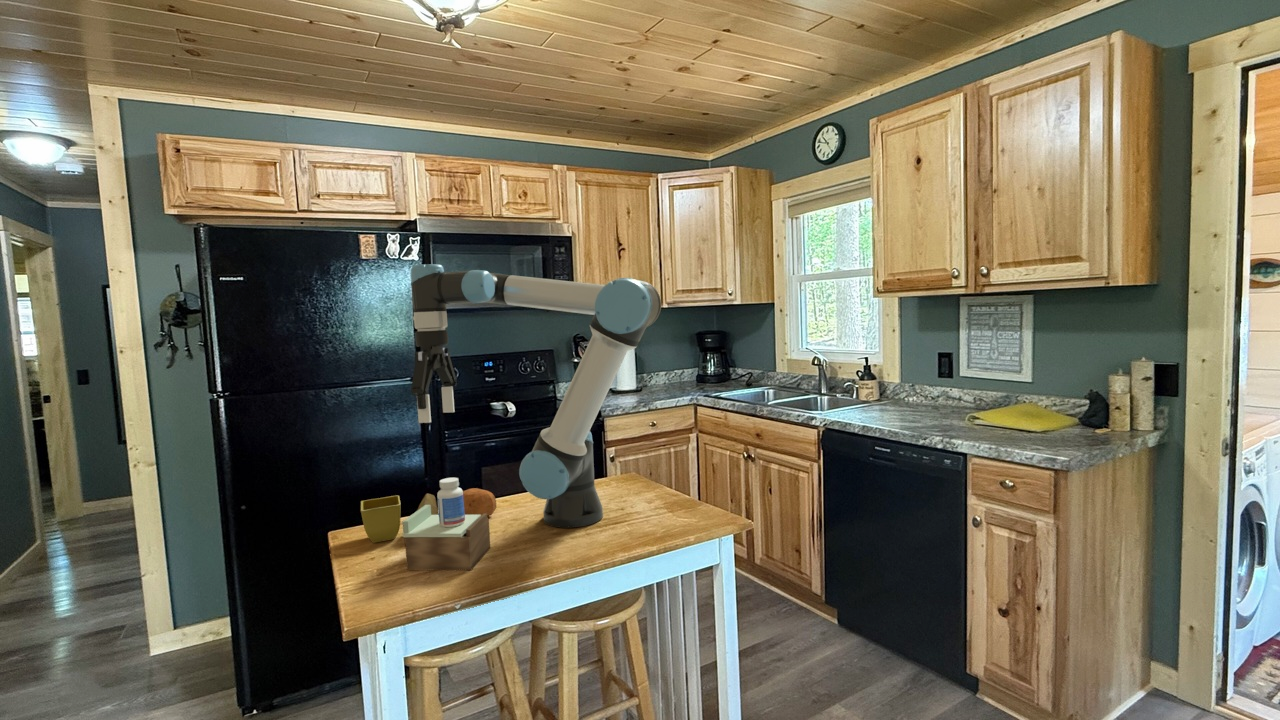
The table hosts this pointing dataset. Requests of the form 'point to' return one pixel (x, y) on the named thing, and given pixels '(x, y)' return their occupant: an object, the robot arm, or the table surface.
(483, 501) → the potato
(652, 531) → the table surface
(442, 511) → the pill bottle
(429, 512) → the lid
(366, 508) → the flower pot
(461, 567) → the box
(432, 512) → the rock
